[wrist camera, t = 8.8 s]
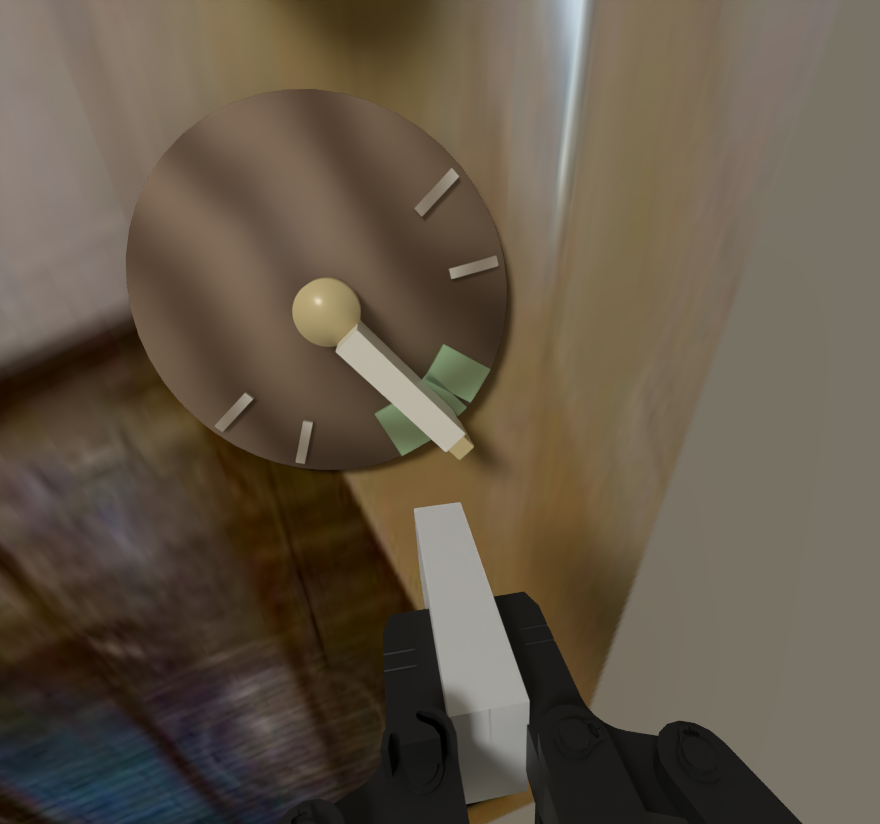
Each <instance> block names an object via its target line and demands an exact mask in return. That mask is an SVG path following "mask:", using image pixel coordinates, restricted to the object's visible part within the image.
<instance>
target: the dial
mask: <svg viewBox="0 0 880 824" xmlns="http://www.w3.org/2000/svg"><path fill="white" fill-rule="evenodd" d="M320 277H335V278H339V279H341V280H343V281H345V282H346V283H348V284H349V285H350V286H351V287H352V288H353V289H354V290H355V292H356V293H357V295H358V297H359V300H360V305H361V316H360V320H361V321H362V322H363V323H364V324H365V325H366V326H367V327H368V328H369V329H370V330H371V331H372V332H373V333H374V334H375V335H376V336H377V337H378V338H379V339H380V340H381V341H382V342H383V343H384V344H385V345H386V346H388V347H389V348H390V349H391V350H392V351H393V352H394V353H395V354H396V355H397V356H398V357H399V358H400V359H401V360H402V361H403V362H404V363H405V364H406V365H407V366H408V367H409V368H410V369H411V370H412V371H413V372H414V373H415V374H416V375H417V376H418V377H419V378H420V379H422V380H423V381H424V382H425V383H426V384H427V385H428V386H429V387H430V388H431V389H432V390H433V391H434V392H435V393H436V394H437V395H438V396H439V397H440V398H441V399H442V400H443V401H444V402H445V403H446V404H447V405H448V406H449V407H450V408H451V409H452V410H453V411H454V413H455V415H456V417H457V418H458V417H459V416H460V414H461V413H462V412H463V411H464V410H465V409H466V408H467V407H468V406H469V404H470V403H471V402H472V400H473V399H474V397H475V396H476V394H477V393H478V392H479V390H480V389H481V387H482V385H483V383H484V381H485V380H486V378H487V376H488V374H489V372H490V370H491V368H492V365H493V363H494V360H495V357H496V355H497V352H498V350H499V346H500V342H501V338H502V334H503V330H504V324H505V316H506V308H507V280H506V272H505V264H504V257H503V253H502V249H501V245H500V241H499V237H498V234H497V231H496V229H495V226H494V223H493V221H492V218H491V216H490V213H489V211H488V209H487V207H486V205H485V203H484V201H483V199H482V198H481V196H480V194H479V192H478V190H477V188H476V187H475V185H474V184H473V183H472V181H471V180H470V178H469V177H468V176H467V174H466V173H465V171H464V170H463V169H462V167H461V166H460V165H459V164H458V163H457V162H456V160H455V159H454V158H453V157H452V156H451V155H450V154H449V153H448V152H447V151H446V150H445V149H444V148H443V146H441V145H440V144H439V143H438V142H437V141H435V140H434V139H433V138H432V137H431V136H429V135H428V134H427V133H426V132H425V131H423V130H422V129H421V128H420V127H418V126H416V125H415V124H413V123H412V122H410V121H408V120H407V119H405V118H404V117H402V116H400V115H399V114H397V113H395V112H393V111H391V110H389V109H386V108H384V107H382V106H380V105H378V104H375V103H373V102H371V101H368V100H364V99H361V98H357V97H354V96H350V95H347V94H344V93H337V92H330V91H323V90H316V89H300V90H281V91H275V92H269V93H263V94H257V95H254V96H251V97H248V98H245V99H242V100H239V101H236V102H233V103H230V104H228V105H227V106H225V107H223V108H221V109H219V110H217V111H215V112H213V113H211V114H210V115H208V116H206V117H204V118H203V119H202V120H200V121H199V122H198V123H196V124H195V125H194V126H193V127H191V128H190V129H189V130H187V131H186V132H185V133H183V134H182V135H181V136H180V137H179V139H178V140H177V141H176V142H175V143H174V144H173V145H172V146H171V147H170V148H169V149H168V150H167V151H166V152H165V153H164V155H163V156H162V158H161V159H160V161H159V162H158V164H157V165H156V167H155V168H154V170H153V171H152V173H151V174H150V176H149V177H148V179H147V181H146V183H145V186H144V188H143V190H142V192H141V194H140V196H139V199H138V201H137V203H136V207H135V211H134V214H133V218H132V221H131V225H130V228H129V236H128V244H127V252H126V278H127V288H128V295H129V301H130V307H131V311H132V315H133V318H134V321H135V325H136V328H137V331H138V334H139V337H140V339H141V341H142V343H143V346H144V348H145V350H146V352H147V354H148V357H149V359H150V360H151V362H152V364H153V365H154V367H155V369H156V370H157V372H158V374H159V375H160V377H161V378H162V380H163V381H164V383H165V384H166V385H167V386H168V388H169V389H170V390H171V392H172V393H173V394H174V395H175V397H176V398H177V399H178V400H179V401H180V402H181V403H182V404H183V405H184V406H185V407H186V408H187V409H188V410H189V411H190V412H191V413H192V414H193V415H194V416H195V417H196V418H197V419H198V420H199V421H201V422H202V423H203V424H204V425H206V426H207V427H208V428H209V429H211V430H212V431H213V432H215V433H216V434H218V435H219V436H221V437H222V438H224V439H226V440H227V441H229V442H231V443H232V444H234V445H235V446H238V447H240V448H242V449H244V450H246V451H248V452H250V453H252V454H254V455H257V456H260V457H262V458H265V459H268V460H271V461H274V462H277V463H281V464H286V465H290V466H295V467H299V468H308V469H317V470H345V469H353V468H362V467H367V466H371V465H375V464H379V463H384V462H386V461H389V460H392V459H395V458H397V457H400V456H403V455H405V454H407V453H409V452H411V451H413V450H415V449H417V448H419V447H421V446H422V445H424V444H425V443H427V442H428V441H430V440H432V439H431V438H430V437H428V436H427V435H426V434H425V433H424V432H423V431H422V430H421V429H420V428H419V427H417V426H416V425H415V424H414V423H413V422H412V421H411V420H410V419H409V418H408V417H406V416H405V415H404V414H403V413H402V412H401V411H400V410H399V409H398V408H397V407H395V406H394V405H393V404H392V403H391V402H390V401H389V400H388V399H387V398H386V397H385V396H383V395H382V394H381V393H380V392H379V391H378V390H377V389H376V388H375V387H374V386H372V385H371V384H370V383H369V382H368V381H367V380H366V379H365V378H364V377H363V376H361V375H360V374H359V373H358V372H357V371H356V370H355V369H354V368H353V367H352V366H350V365H349V364H348V363H347V362H346V361H345V360H344V359H343V358H342V357H341V356H339V355H338V354H337V353H336V348H337V346H334V347H324V346H319V345H316V344H314V343H312V342H310V341H308V340H307V339H306V338H304V337H303V336H302V335H301V333H300V332H299V331H298V329H297V327H296V325H295V323H294V320H293V314H292V308H293V303H294V300H295V297H296V295H297V294H298V292H299V291H300V290H301V289H302V288H303V287H304V286H306V285H307V284H308V283H310V282H311V281H313V280H315V279H317V278H320Z"/></svg>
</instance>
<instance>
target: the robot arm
mask: <svg viewBox="0 0 880 824" xmlns="http://www.w3.org/2000/svg"><path fill="white" fill-rule="evenodd" d="M414 516H415V526H416V536H417V547H418V557H419V567H420V577H421V584H422V590H423V596H424V603H425V609H423V610H417V611H411V612H405V613H399V614H393V615H390V617H389V620H388V622H387V624H386V627H385V629H384V632H383V649H384V672H385V674H384V676H385V702H386V729H385V731H384V733H383V738H382V744H381V754H382V761H381V763H380V765H379V766H378V768H377V770H376V771H375V773H374V774H373V775H372V776H371V777H370V779H369V780H368V781H367V782H365V783H364V784H363V785H362V786H360V787H359V788H358V789H356V790H355V791H353V792H351V793H350V794H348V795H347V796H345V797H343V798H342V799H340V800H338V801H337V802H335V803H334V804H333V803H331V802H328V801H325V800H322V799H313V800H307V801H303V802H301V803H300V804H298V805H296V806H295V807H293V808H292V809H290V810H288V812H287V813H286V814H285V815H284V816H283V817H282V818H281V819H280V821H279V822H278V823H277V824H469V818H468V813H467V807H466V804H469V803H474V802H478V801H483V800H487V799H492V798H496V797H501V796H505V795H510V794H515V793H519V792H524V791H527V785H528V780H529V784H530V787H531V790H532V794H533V797H534V800H535V804H536V805H535V808H536V809H535V824H802V823H801V822H800V821H799V820H798V819H797V818H796V817H795V816H794V814H792V812H791V811H790V810H789V809H788V808H787V807H786V806H785V805H784V804H783V803H782V802H781V801H780V800H779V799H778V798H777V797H776V796H775V795H774V794H773V793H772V792H771V790H770V789H769V788H768V787H767V786H766V785H765V784H764V783H763V782H762V781H761V780H760V779H759V778H758V777H757V776H756V775H755V774H754V773H753V772H752V771H751V770H750V769H749V768H748V767H747V765H746V764H745V763H744V762H743V761H742V760H741V759H740V758H739V757H738V756H737V755H736V754H735V753H734V752H733V751H732V750H731V749H730V748H729V747H728V746H727V745H726V744H725V743H724V742H723V741H722V740H721V739H720V738H718V737H717V736H716V735H715V734H714V733H712V732H711V731H710V730H708V729H706V728H704V727H702V726H700V725H697V724H695V723H691V722H685V721H676V722H673V723H669V724H667V725H666V726H665V727H664V728H663V729H662V730H661V731H660V732H659V736H655V735H649V734H642V733H636V732H630V731H625V730H621V729H617V728H614V727H612V726H610V725H608V724H606V723H604V722H603V721H602V720H600V719H599V718H598V717H596V716H595V715H594V714H593V713H592V712H591V711H590V710H589V708H588V707H587V706H586V705H585V703H584V701H583V700H582V698H581V696H580V694H579V692H578V690H577V687H576V685H575V683H574V681H573V679H572V677H571V675H570V672H569V670H568V668H567V666H566V664H565V662H564V659H563V657H562V655H561V653H560V651H559V649H558V646H557V644H556V642H554V638H553V636H552V633H551V631H550V629H549V627H547V623H546V620H545V618H544V616H543V614H542V612H541V610H540V607H539V605H538V604H536V603H535V602H534V601H533V600H532V599H531V598H530V597H529V596H528V595H527V594H526V593H525V592H519V593H513V594H507V595H501V596H495V597H493V594H492V592H491V589H490V586H489V583H488V580H487V577H486V574H485V571H484V569H483V566H482V563H481V560H480V557H479V554H478V551H477V548H476V546H475V543H474V540H473V537H472V534H471V531H470V528H469V526H468V523H467V520H466V517H465V514H464V511H463V508H462V505H461V503H460V502H458V503H451V504H444V505H436V506H429V507H422V508H415V509H414Z"/></svg>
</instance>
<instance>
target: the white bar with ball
mask: <svg viewBox="0 0 880 824" xmlns="http://www.w3.org/2000/svg"><path fill="white" fill-rule="evenodd" d="M292 314H293V320H294V323H295V325H296V327H297V329H298V331H299V332H300V333H301V335H302V336H303V337H304V338H306V339H307V340H308V341H310V342H312V343H314V344H316V345H319V346H324V347H334V346H337V348H336V353H337V354H338V355H339V356H341V357H342V358H343V359H344V360H345V361H346V362H347V363H348V364H349V365H350V366H352V367H353V368H354V369H355V370H356V371H357V372H358V373H359V374H360V375H361V376H363V377H364V378H365V379H366V380H367V381H368V382H369V383H370V384H371V385H372V386H374V387H375V388H376V389H377V390H378V391H379V392H380V393H381V394H382V395H383V396H385V397H386V398H387V399H388V400H389V401H390V402H391V403H392V404H393V405H394V406H395V407H397V408H398V409H399V410H400V411H401V412H402V413H403V414H404V415H405V416H406V417H408V418H409V419H410V420H411V421H412V422H413V423H414V424H415V425H416V426H417V427H419V428H420V429H421V430H422V431H423V432H424V433H425V434H426V435H427V436H428V437H430V438H431V439H432V440H433V441H434V442H435V443H436V444H437V445H438V446H439V447H441V448H442V449H443V450H444V451H445V452H447V451H448V450H449V451H450V452H451V453H452V454H453V455H454V456H455V457H456V458H458V459H459V460H461V459H462V458H463V457H464V456H465V455H466V454H467V453H468V452H469V451H470V450H472V449H473V448H474V445H473V443H472V442H471V440H470V438H469V436H468V434H467V432H466V430H465V429H464V427H463V425H462V423H461V421H460V420H458V418H457V417H456V415H455V413H454V411H453V410H452V409H451V408H450V407H449V406H448V405H447V404H446V403H445V402H444V401H443V400H442V399H441V398H440V397H439V396H438V395H437V394H436V393H435V392H434V391H433V390H432V389H431V388H430V387H429V386H428V385H427V384H426V383H425V382H424V381H423V380H422V379H420V378H419V377H418V376H417V375H416V374H415V373H414V372H413V371H412V370H411V369H410V368H409V367H408V366H407V365H406V364H405V363H404V362H403V361H402V360H401V359H400V358H399V357H398V356H397V355H396V354H395V353H394V352H393V351H392V350H391V349H390V348H389V347H388V346H386V345H385V344H384V343H383V342H382V341H381V340H380V339H379V338H378V337H377V336H376V335H375V334H374V333H373V332H372V331H371V330H370V329H369V328H368V327H367V326H366V325H365V324H364V323H363V322H362V321H361V320H360V316H361V305H360V300H359V297H358V295H357V293H356V292H355V290H354V289H353V288H352V287H351V286H350V285H349V284H348V283H346V282H345V281H343V280H341V279H339V278H335V277H320V278H317V279H315V280H313V281H311V282H310V283H308V284H307V285H306V286H304V287H303V288H302V289H301V290H300V291H299V292H298V294H297V295H296V297H295V300H294V303H293V308H292Z"/></svg>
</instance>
